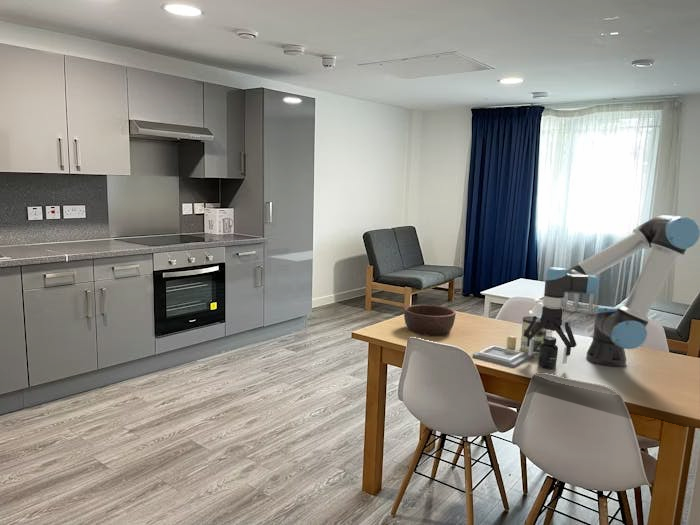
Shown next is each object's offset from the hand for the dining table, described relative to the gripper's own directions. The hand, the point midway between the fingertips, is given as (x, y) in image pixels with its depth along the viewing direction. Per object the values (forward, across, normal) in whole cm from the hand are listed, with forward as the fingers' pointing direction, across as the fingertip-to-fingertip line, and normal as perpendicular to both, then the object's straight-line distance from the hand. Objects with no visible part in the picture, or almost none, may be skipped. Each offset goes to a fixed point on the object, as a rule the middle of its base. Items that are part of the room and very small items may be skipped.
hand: (547, 358), depth 211 cm
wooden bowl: (+4, +62, -11) cm, 63 cm away
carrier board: (+3, +18, +1) cm, 18 cm away
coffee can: (+4, +13, -18) cm, 22 cm away
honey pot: (+4, +20, -43) cm, 48 cm away
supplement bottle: (+4, 0, 0) cm, 4 cm away
